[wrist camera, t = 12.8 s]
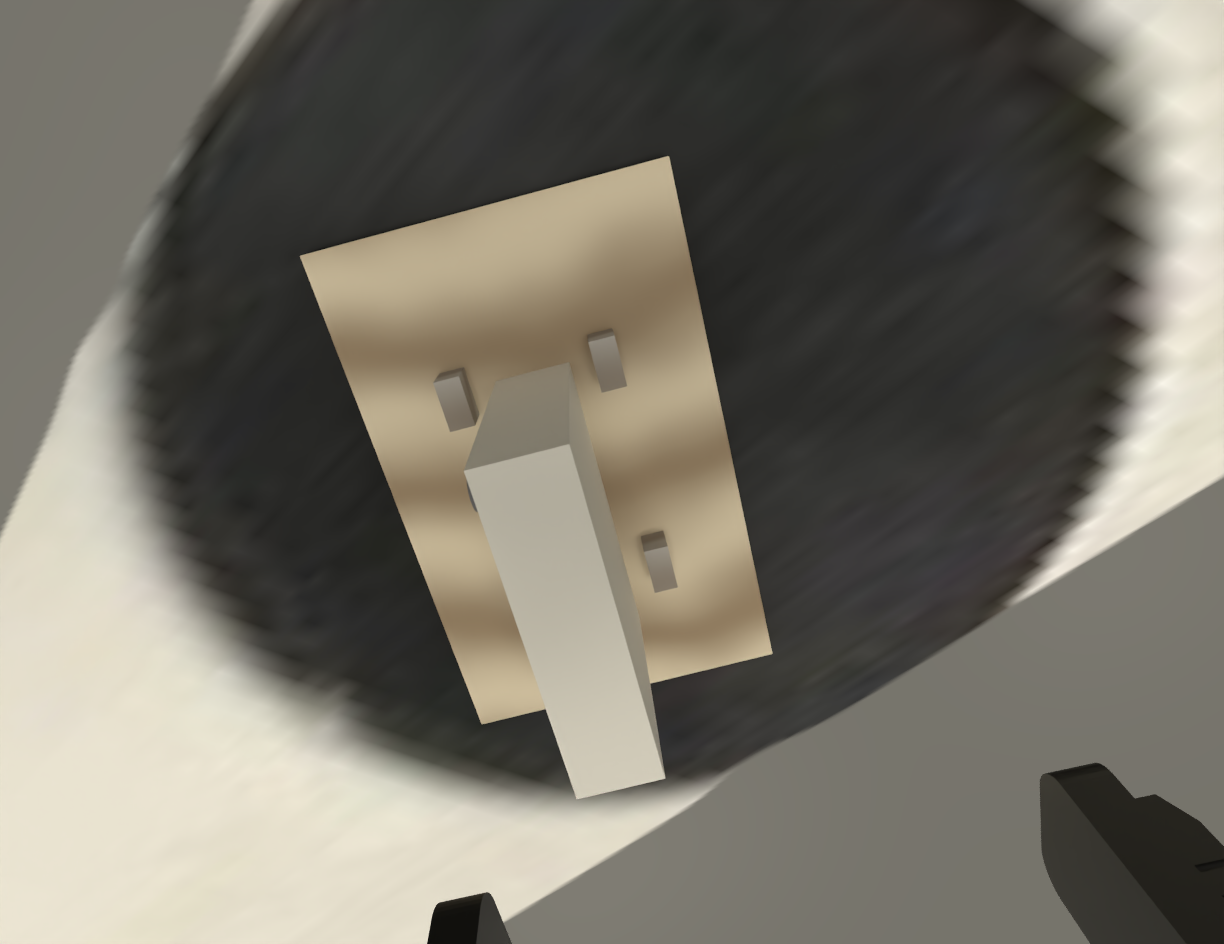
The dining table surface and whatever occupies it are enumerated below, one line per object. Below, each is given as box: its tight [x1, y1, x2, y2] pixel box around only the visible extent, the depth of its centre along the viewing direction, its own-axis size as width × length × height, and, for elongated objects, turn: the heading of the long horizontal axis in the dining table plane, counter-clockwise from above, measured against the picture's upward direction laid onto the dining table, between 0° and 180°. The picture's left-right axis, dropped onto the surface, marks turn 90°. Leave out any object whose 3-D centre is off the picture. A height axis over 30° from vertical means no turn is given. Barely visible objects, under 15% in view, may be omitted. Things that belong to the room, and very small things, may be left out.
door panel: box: [464, 362, 665, 799], centre depth 28 cm, size 12×4×10 cm, turn 14°
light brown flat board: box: [300, 156, 772, 724], centre depth 32 cm, size 22×14×2 cm, turn 14°
